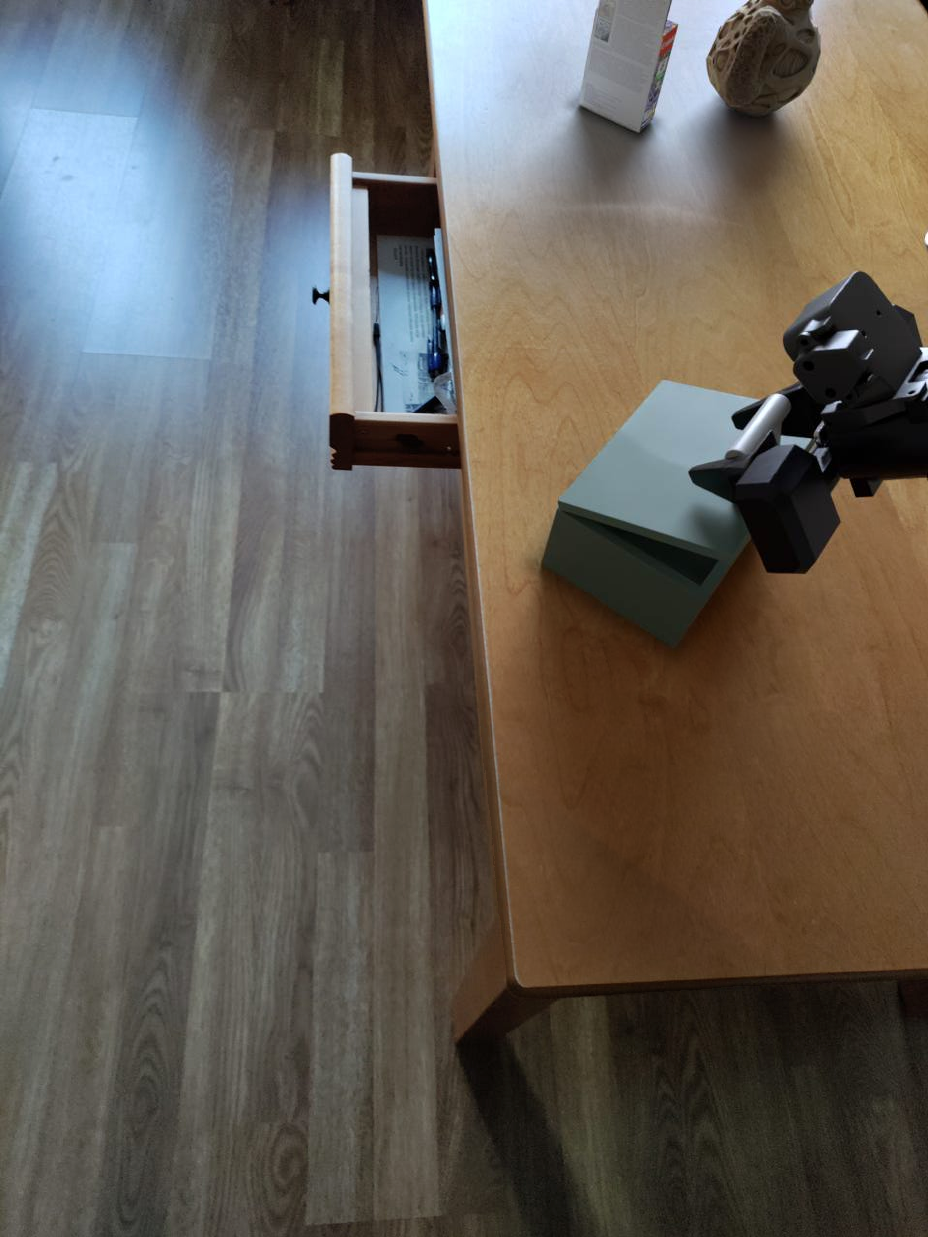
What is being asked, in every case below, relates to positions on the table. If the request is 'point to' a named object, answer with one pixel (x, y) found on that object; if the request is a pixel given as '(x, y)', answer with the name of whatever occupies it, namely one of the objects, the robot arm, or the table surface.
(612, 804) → the table surface
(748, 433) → the bin lid
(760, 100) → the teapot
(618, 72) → the ink box
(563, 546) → the bin
